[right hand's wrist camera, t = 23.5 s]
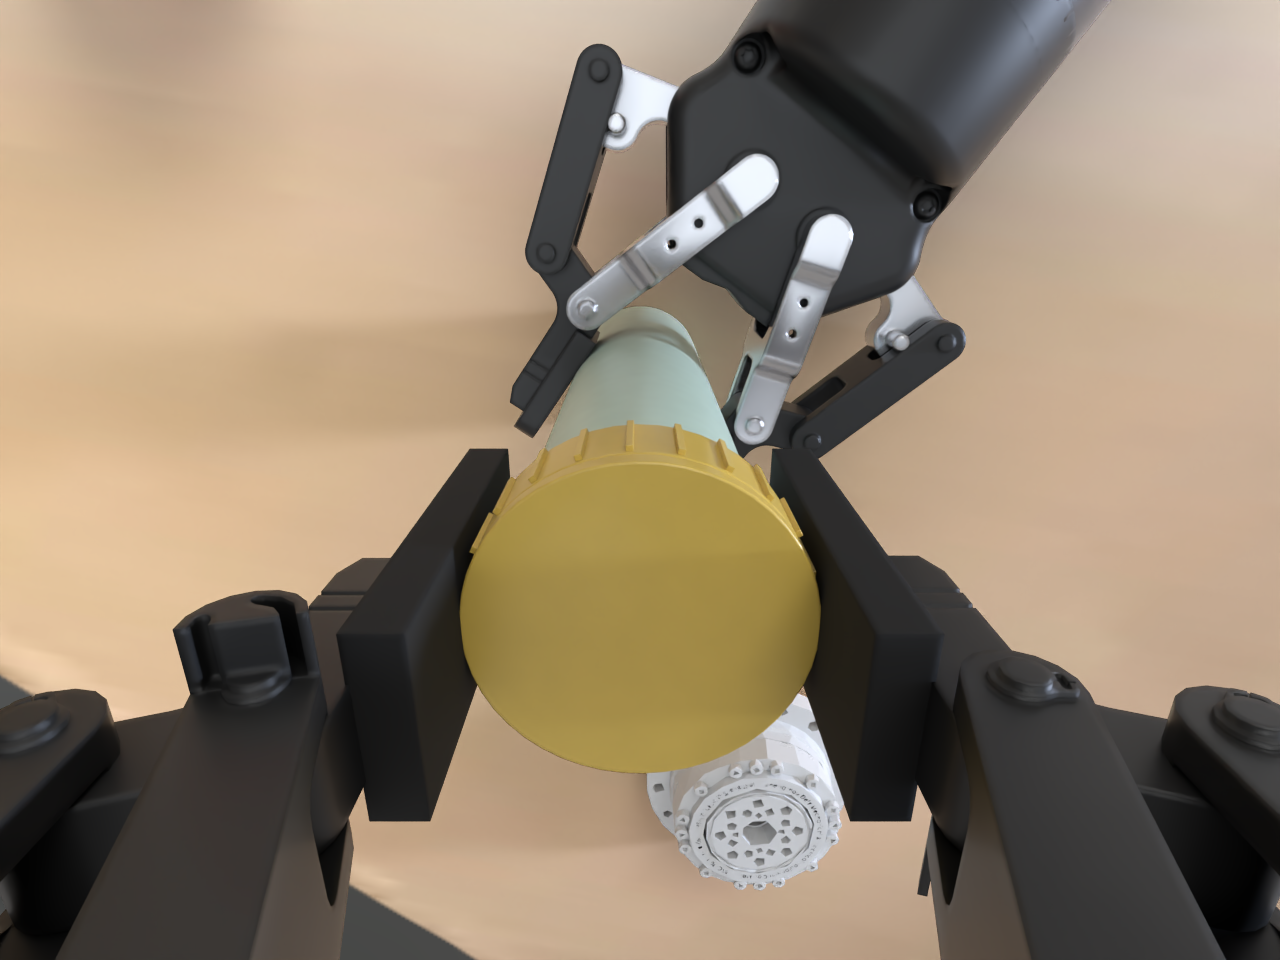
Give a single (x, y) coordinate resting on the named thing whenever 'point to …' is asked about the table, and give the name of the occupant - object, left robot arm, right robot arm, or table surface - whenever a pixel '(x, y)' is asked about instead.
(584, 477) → the lid
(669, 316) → the jar
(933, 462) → the table surface
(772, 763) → the mechanical component
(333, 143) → the table surface
